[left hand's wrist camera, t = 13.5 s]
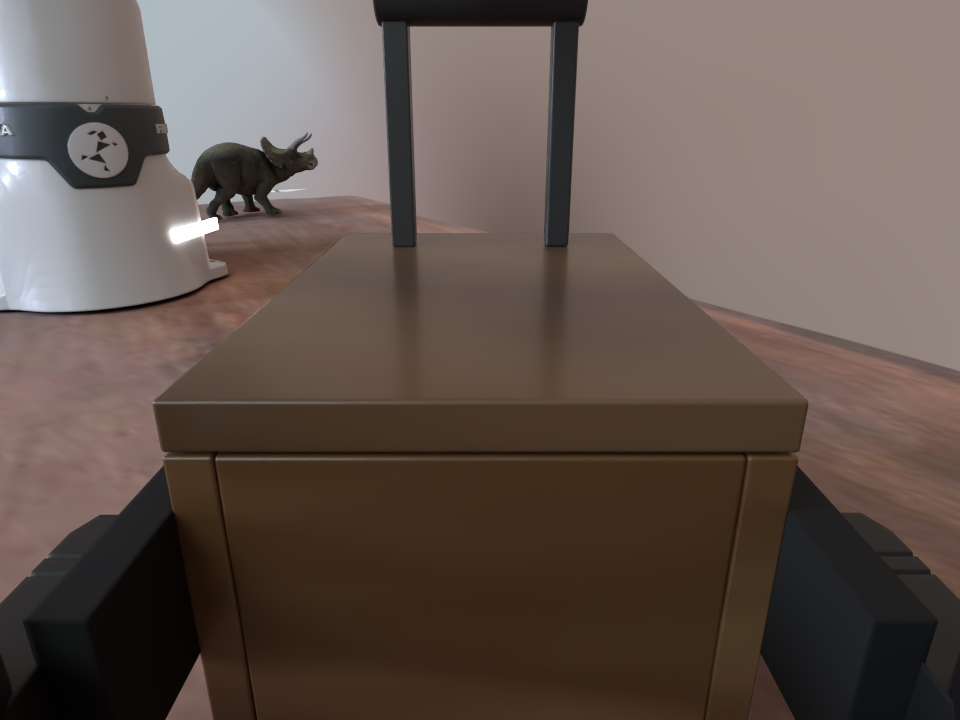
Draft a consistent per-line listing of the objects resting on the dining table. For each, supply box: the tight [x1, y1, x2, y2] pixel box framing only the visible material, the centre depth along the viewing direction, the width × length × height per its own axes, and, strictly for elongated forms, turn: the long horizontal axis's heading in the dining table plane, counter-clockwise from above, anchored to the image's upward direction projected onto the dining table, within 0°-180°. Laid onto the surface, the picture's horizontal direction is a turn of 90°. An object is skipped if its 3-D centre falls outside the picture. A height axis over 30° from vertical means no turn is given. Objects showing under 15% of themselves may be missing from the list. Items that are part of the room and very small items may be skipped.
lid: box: [153, 0, 808, 452], centre depth 14 cm, size 14×9×9 cm, turn 0°
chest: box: [163, 452, 798, 720], centre depth 17 cm, size 14×9×9 cm
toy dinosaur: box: [191, 133, 318, 221], centre depth 90 cm, size 22×8×11 cm, turn 131°
